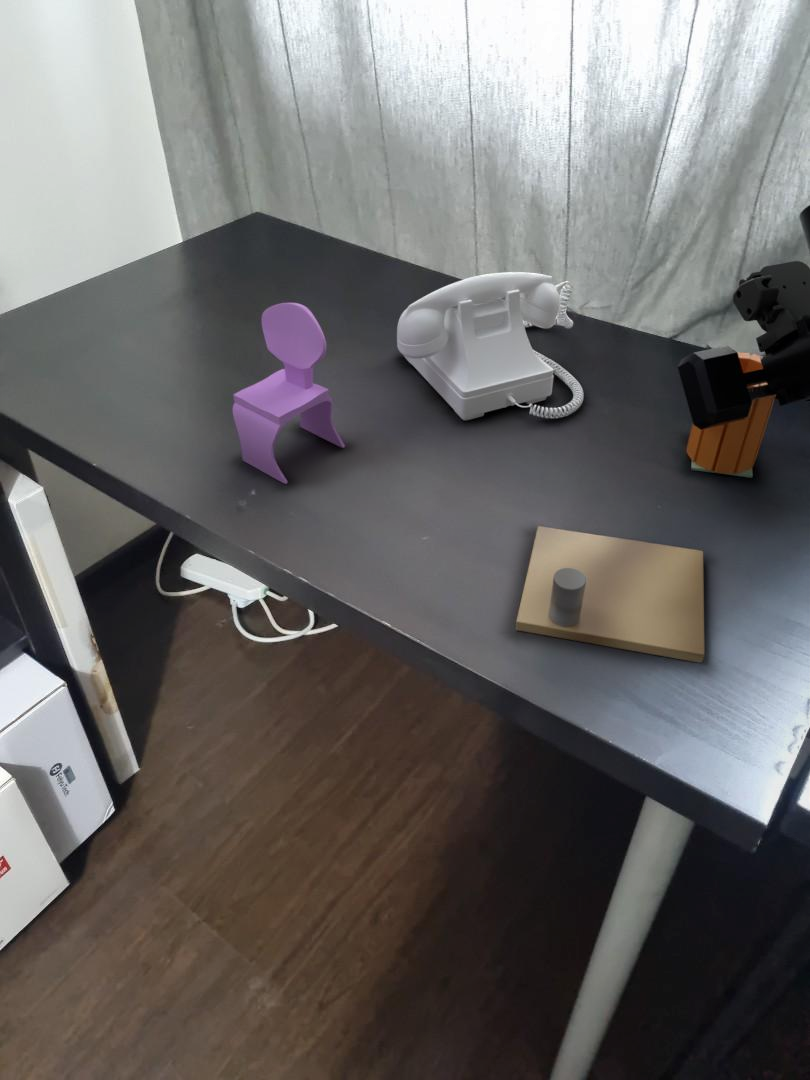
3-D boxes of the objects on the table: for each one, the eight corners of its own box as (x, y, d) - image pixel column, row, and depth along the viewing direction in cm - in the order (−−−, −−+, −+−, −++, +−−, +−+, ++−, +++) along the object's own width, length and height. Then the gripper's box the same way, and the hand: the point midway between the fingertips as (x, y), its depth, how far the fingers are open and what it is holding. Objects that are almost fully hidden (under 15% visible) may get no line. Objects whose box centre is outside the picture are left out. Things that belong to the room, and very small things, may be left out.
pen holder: (769, 462, 80) (798, 376, 74) (717, 480, 78) (741, 393, 72) (723, 430, 85) (747, 346, 79) (672, 446, 83) (692, 361, 76)
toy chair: (232, 458, 83) (206, 319, 73) (296, 422, 88) (279, 286, 78) (288, 491, 79) (269, 347, 69) (352, 450, 84) (343, 311, 74)
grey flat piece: (749, 445, 83) (749, 443, 83) (752, 477, 79) (752, 475, 79) (691, 438, 84) (692, 436, 84) (691, 469, 80) (691, 467, 80)
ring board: (700, 559, 70) (714, 513, 67) (701, 663, 62) (717, 616, 58) (536, 534, 73) (541, 489, 70) (515, 630, 64) (520, 583, 61)
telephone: (548, 320, 105) (559, 221, 97) (648, 396, 91) (670, 287, 82) (366, 361, 98) (361, 257, 90) (443, 451, 83) (445, 338, 75)
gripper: (914, 228, 66) (783, 302, 81) (718, 262, 62) (618, 334, 77) (953, 360, 66) (814, 410, 81) (758, 405, 61) (649, 449, 76)
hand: (725, 398), depth 79 cm, fingers closed on pen holder, 6 cm apart
